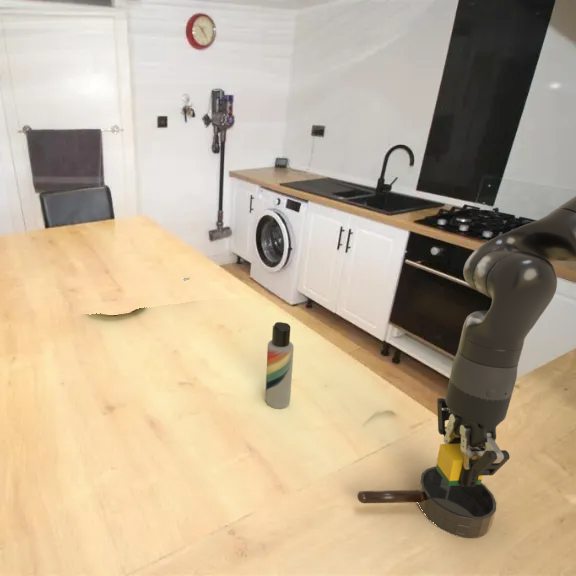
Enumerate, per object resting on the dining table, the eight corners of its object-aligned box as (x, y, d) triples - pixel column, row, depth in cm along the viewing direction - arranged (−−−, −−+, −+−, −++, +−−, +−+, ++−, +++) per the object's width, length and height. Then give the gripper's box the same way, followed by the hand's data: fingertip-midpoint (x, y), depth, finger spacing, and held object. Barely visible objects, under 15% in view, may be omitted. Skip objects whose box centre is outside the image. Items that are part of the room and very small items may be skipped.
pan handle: (420, 495, 68) (422, 487, 67) (426, 504, 66) (428, 496, 65) (354, 496, 68) (356, 488, 67) (359, 506, 66) (360, 497, 65)
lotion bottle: (274, 391, 100) (278, 317, 93) (294, 401, 96) (300, 324, 89) (260, 402, 96) (263, 325, 89) (280, 412, 92) (285, 332, 85)
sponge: (466, 467, 67) (471, 442, 65) (480, 484, 63) (486, 459, 62) (435, 468, 67) (440, 444, 65) (448, 486, 64) (453, 460, 62)
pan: (464, 483, 72) (468, 465, 71) (506, 537, 63) (512, 518, 61) (405, 484, 72) (408, 467, 71) (438, 538, 63) (443, 519, 61)
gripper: (546, 413, 52) (514, 512, 58) (475, 356, 66) (454, 442, 72) (487, 414, 53) (461, 513, 59) (428, 358, 66) (411, 443, 72)
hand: (457, 474), depth 65 cm, fingers closed on sponge, 3 cm apart
